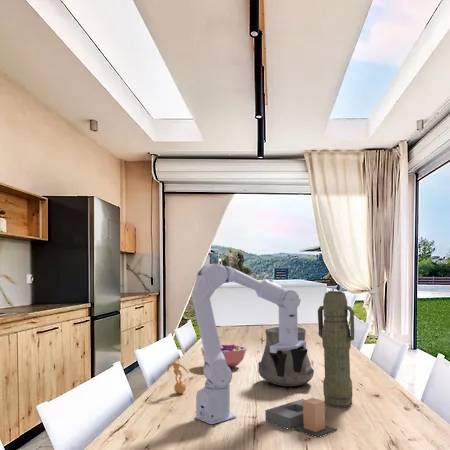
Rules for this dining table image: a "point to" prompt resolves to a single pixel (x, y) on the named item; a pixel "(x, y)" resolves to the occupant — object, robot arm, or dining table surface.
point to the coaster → (318, 433)
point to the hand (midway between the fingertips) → (289, 374)
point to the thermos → (336, 348)
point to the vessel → (290, 377)
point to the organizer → (287, 414)
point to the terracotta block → (314, 414)
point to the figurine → (179, 386)
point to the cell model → (231, 354)
